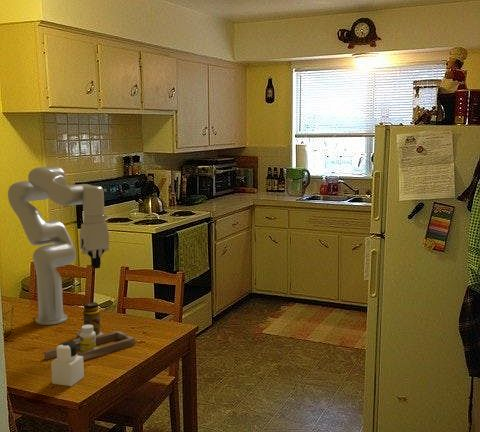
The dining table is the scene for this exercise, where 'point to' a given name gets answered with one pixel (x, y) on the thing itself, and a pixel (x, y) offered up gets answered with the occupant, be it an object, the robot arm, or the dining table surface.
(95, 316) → the condiment
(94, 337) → the supplement bottle
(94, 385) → the dining table surface
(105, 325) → the dining table surface
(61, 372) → the white stacked blocks
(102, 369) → the dining table surface
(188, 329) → the dining table surface
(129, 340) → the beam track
